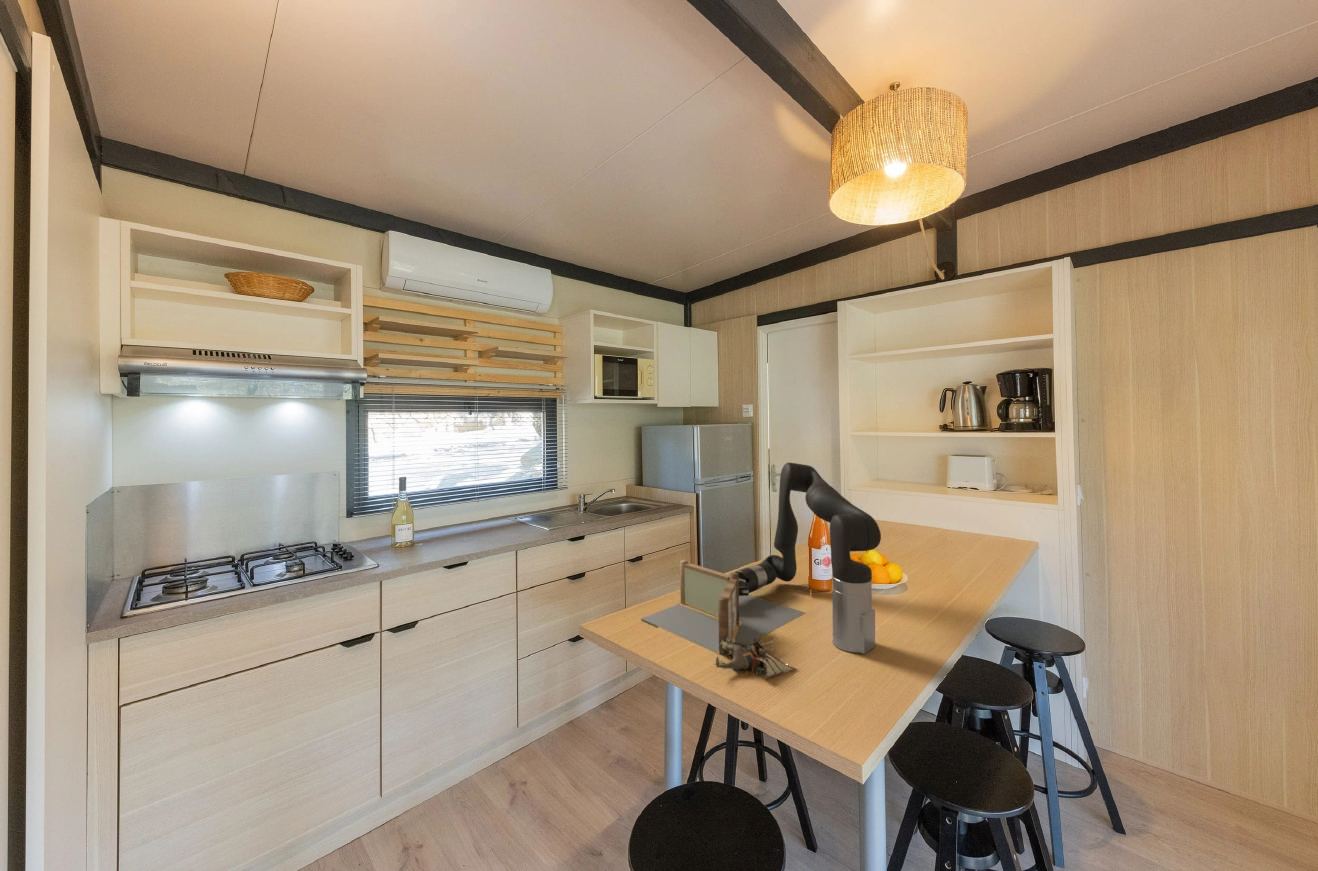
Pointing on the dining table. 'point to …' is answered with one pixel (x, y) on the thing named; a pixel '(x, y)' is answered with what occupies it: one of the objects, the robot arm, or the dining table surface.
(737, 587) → the post
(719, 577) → the fence gate
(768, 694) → the dining table surface
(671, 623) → the card
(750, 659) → the figurine
